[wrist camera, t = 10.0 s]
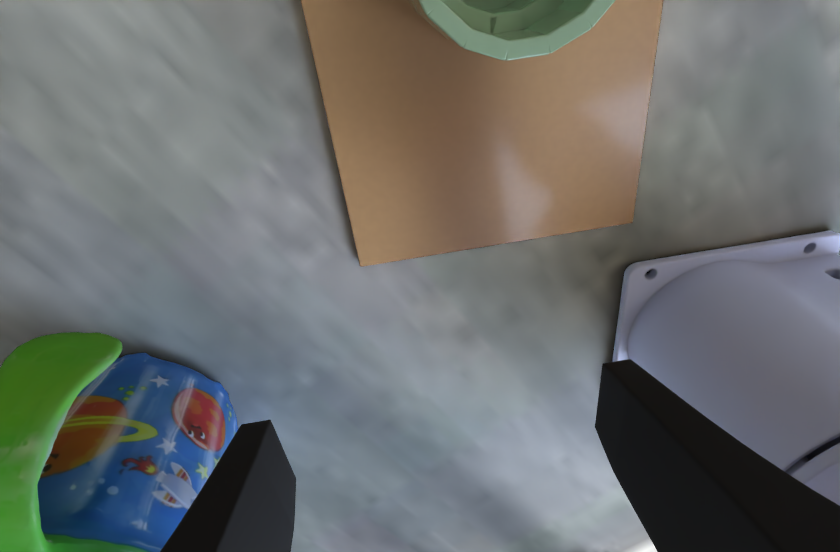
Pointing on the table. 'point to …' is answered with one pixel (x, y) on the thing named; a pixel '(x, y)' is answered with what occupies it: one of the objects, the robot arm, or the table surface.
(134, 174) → the table surface
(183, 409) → the snack cup
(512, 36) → the bowl
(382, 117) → the mat
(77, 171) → the table surface
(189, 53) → the table surface
